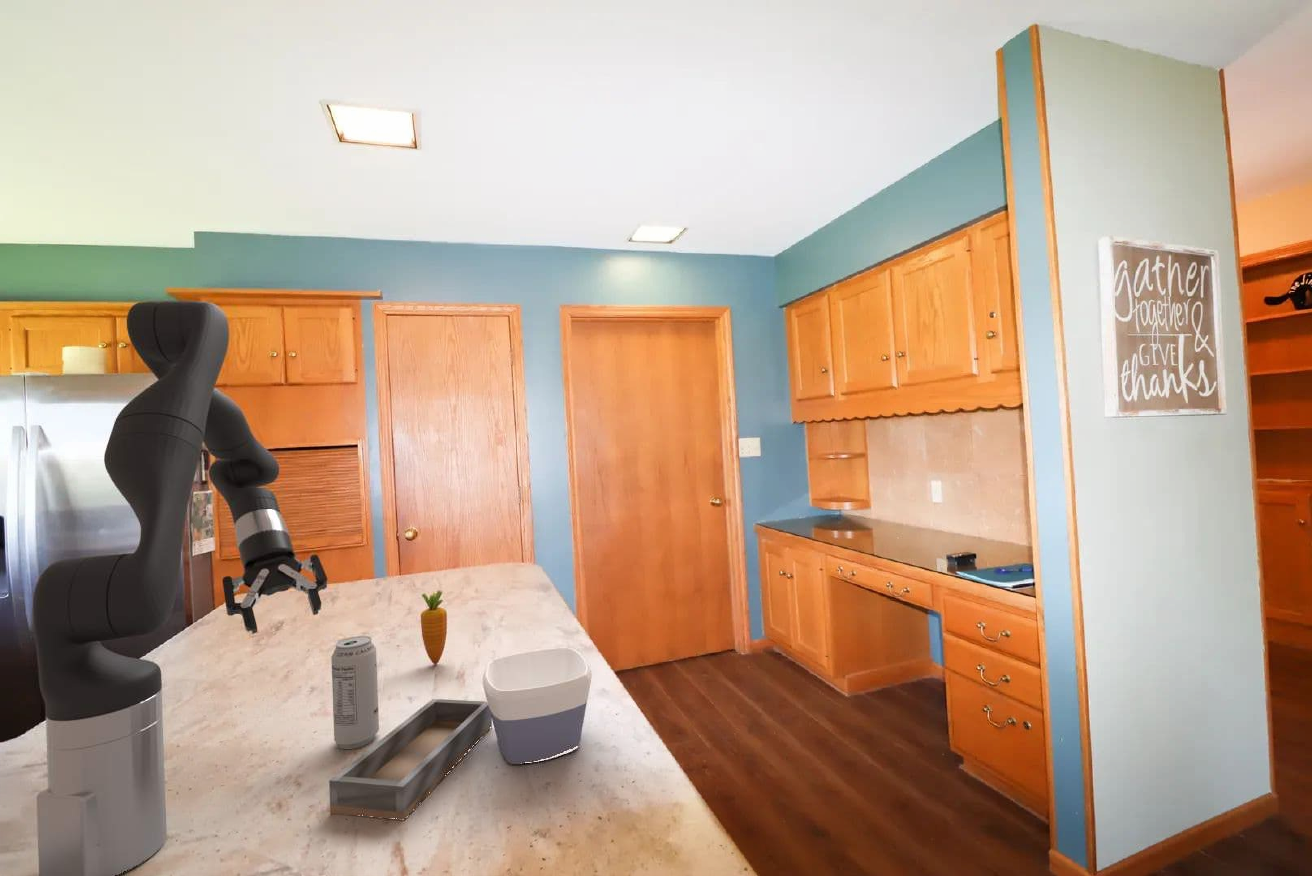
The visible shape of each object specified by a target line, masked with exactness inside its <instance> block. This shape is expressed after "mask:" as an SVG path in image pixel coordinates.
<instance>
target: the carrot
mask: <svg viewBox="0 0 1312 876" xmlns="http://www.w3.org/2000/svg"><path fill="white" fill-rule="evenodd" d="M442 595H443V591H442V590H440V589H438V590H437V591H436V593H435V592H433V594H430V596H429V597H428V596H427V594H426V593H422V594H421V596H422V598H423V600H424V601H425V603H426V604H427V606H428V608H426V609H425V610H423V611H422V612H421V614H420V628H421V637H422V641H423V646H424V649H425V652H426V654H427V657H428V658H429V660H430V661H431V663H432V664H433V665H435V664H436V665H438V663H439V662H440V660H441V658H442V656H443V652H444V650H445V645H446V640H447V634H448V633H447V632H448V631H447V629H448V628H447V627H448V615H447V610H446V609H445V608H443V607H442V606H440V605H441V603H443V602H444V600H443V599H440V598H441V596H442Z"/></svg>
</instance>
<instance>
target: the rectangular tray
mask: <svg viewBox="0 0 1312 876" xmlns="http://www.w3.org/2000/svg"><path fill="white" fill-rule="evenodd" d="M490 727H492V728H493V721H492V717H491V713H490V709H489V706H488V703H487V701H485V700H484V701H479V700H461V699H460V700H459V699H445V698H444V699H443V698H442V699H441V698H440V699H439V698H432V699H431V700H429V701H427V702H426V704H424V705H423V706H422V707H421V708H419V709H418V710H416V712H414V713H413V714H411V715H410V716H409V717H408V718H406V719H405V720H404V721H403V722H401V723H400V724H398V726H396V727H395V728H394V729H393V730H391V731H390V732H388V733H387V734H386V735H385V736H384V737H383V738H381V739H380V740H378V741H377V742H376V743H375V744H374V745H372V746H370V748H369V749H368V750H366V751H365V752H364V753H362V754H361V755H360V756H358V757H357V758H356V759H354V761H352V762H351V763H350V764H348V765H347V766H345V768H344V769H341V770H340V772H338V773H336V775H334V776H333V777H331V779H329V781H328V783H329V809H330V810H329V812H330V814H332V815H339V816H340V815H342V816H350V815H360V816H359V817H361V816H362V815H363V816H373V817H381V818H380V819H382V818H395V819H396V818H397V819H405V818H406V817H407V816H408V815H409V814H410V813H411V812H412V811H413V809H415V807H416V806H417V805H419V803H420V802H421V801H422V800H423V799H424V798H425V797H426V796H427V795H428V794H429V792H431V791H432V789H434V788H435V787H436V785H438V786H439V784H440V783H441V782H442V781H443V780H444V779H445V778H446V777H445V775H447V773H448V772H449V771H450V770H451V769H452V767H453V766H455V765H456V763H457V762H458V761H459V760H460V759H461V758H462V757H463V756H464V754H465V753H467V752H468V750H469V749H471V748H472V746H473V745H475V743H476V742H477V741H478V740H479V739H480V738H481V737H482V736H484V734H485V733H486V732H487V731H488V730H489V729H490ZM490 730H491V729H490ZM490 730H489V731H490ZM489 731H488V732H489ZM488 732H487V733H488ZM487 733H486V734H487ZM486 734H485V735H486ZM484 737H485V736H484ZM475 746H476V745H475ZM472 749H473V748H472ZM472 749H471V750H472ZM456 766H457V765H456ZM456 766H455V767H456ZM447 776H448V775H447ZM444 777H445V778H444ZM443 778H444V779H443ZM442 779H443V780H442ZM441 780H442V781H441ZM440 781H441V782H440ZM439 782H440V783H439ZM438 783H439V784H438ZM436 788H437V787H436ZM436 788H435V789H436ZM435 789H434V790H435ZM432 792H433V791H432ZM432 792H431V793H432ZM429 795H430V794H429ZM429 795H428V796H429ZM428 796H427V797H428ZM427 797H426V798H427ZM426 798H425V799H426ZM425 799H424V800H425ZM424 800H423V801H424ZM419 806H420V805H419ZM415 810H416V809H415ZM413 812H414V811H413ZM413 812H412V813H413ZM412 813H411V814H412ZM411 814H410V815H411ZM410 815H409V816H410ZM409 816H408V817H409ZM408 817H407V818H408Z"/></svg>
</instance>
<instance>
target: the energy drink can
mask: <svg viewBox="0 0 1312 876" xmlns="http://www.w3.org/2000/svg"><path fill="white" fill-rule="evenodd" d="M330 658H331V681H332V683H331V686H332V710H333V716H332V717H333V737H334V739H333V740H334V742H335V743H336V744H337V745H338V748H340V749H343V750H352V749H358V748H361V747H364V746H366V745H369V744H370V743H372V742H373V741H374V740H375V738H376V735H377V734H378V732H379V731H380V723H379V721H380V719H379V717H380V715H379V693H378V691H379V690H378V687H379V685H378V665H377V664H378V663H377V660H378V659H377V648H376V646H375V645H374V643H373V642H372V637H371V636H367V635H362V636H361V635H360V636H359V635H358V636H353V637H348V638H344V639H342V640H339V641H337V642H336V643H335V649H334V651H333V653H332V654H331V657H330Z"/></svg>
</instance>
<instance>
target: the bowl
mask: <svg viewBox="0 0 1312 876" xmlns="http://www.w3.org/2000/svg"><path fill="white" fill-rule="evenodd" d="M587 661H588V660H586V658H585V657H583V655H582V654H581V653H579V652H578V651H577V650H575V649H573V648H571V647H554V648H553V647H552V648H542V649H537V650H528V651H523V652H519V653H513V654H509V655H504V656H501V657H497V658H494V659H492V660H490V662H489V663H488V664H487V665H486V667H485V669H484V672H483V676H482V687H483V690H484V694H485V695H484V696H485V698H486V702H487V703H488V706H489V709H490V713H491V717H492V726H493V727H494V728H493V729H494V731H495V737H496V740H497V744H498V748H499V751H500V754H501V755H502V757H503V759H504V758H505V759H504V760H505V761H506V763H508V762H509V763H508V764H510V763H511V764H510V765H512V764H521V763H525V762H534V761H538V760H541V759H546V758H550V757H552V756H555V755H557V754H560V753H563V752H564V751H567V750H569V749H573V748H574V747H576V746H578V745H579V746H580V744H579V743H581V740H582V739H581V738H582V734H583V733H582V732H583V726H584V721H585V716H586V711H587V705H588V698H589V693H590V688H591V682H592V676H593V675H592V670H591V668H590V665H589V663H588V662H587Z"/></svg>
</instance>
